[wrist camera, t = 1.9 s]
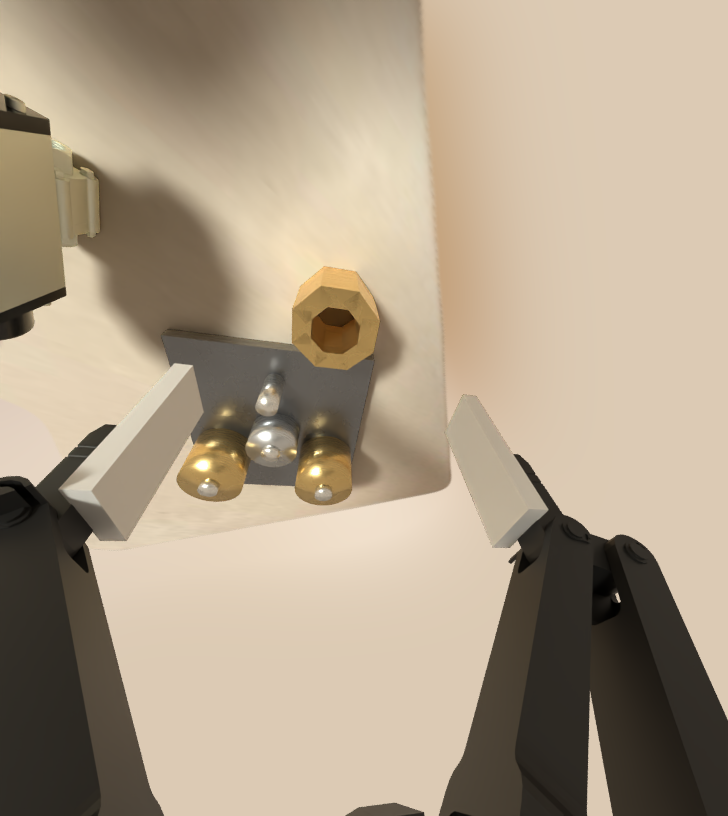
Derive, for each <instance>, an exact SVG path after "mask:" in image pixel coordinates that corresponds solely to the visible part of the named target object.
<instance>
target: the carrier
mask: <svg viewBox="0 0 728 816" xmlns="http://www.w3.org/2000/svg"><path fill="white" fill-rule="evenodd" d="M161 337H162V340H163V344H164V347H165V350H166V354H167V357H168V360H169V364H170V367H171V366H172V365H173V364H174V363H176V364H186V365H193V368H194V372H195V377H196V381H197V385H198V390H199V394H200V398H201V403H202V407H203V411H204V412H203V414H202V416H201V417H200V419H199V421H198V422H197V424H196V426H195V427H194V429H193V431H192V432H191V438H192V441H193V444H194V446H193V448H192V450H191V451H190V453H189V455H188V457H187V459H186V461H185V462H184V464H183V466H182V468H181V470H180V472H179V473H178V475H177V483H178V485H179V487H180V488H181V489H182V490H183V491H184V492H186V493H187V494H189V495H191V496H193V497H195V498H198V499H201V500H206V501H214V502H219V501H227V500H231V499H233V498H235V497H237V496H238V495H239V494H240V493H241V491H242V487H243V484H261V485H283V486H295V492H296V494H297V496H298V497H299V498H300V499H302V500H303V501H305V502H307V503H310V504H315V505H332V504H336V503H339V502H341V501H343V500H345V499H346V498H347V497H348V496H349V495H350V494H351V491H352V477H351V464H352V459H353V455H354V450H355V446H356V441H357V437H358V432H359V428H360V423H361V419H362V414H363V410H364V405H365V401H366V396H367V392H368V387H369V383H370V378H371V374H372V369H373V365H374V356H373V354H371V355H369V356H368V357H366V358H365V359H363V360H362V361H360V362H359V363H357V364H356V365H354V366H352V367H351V368H349V369H348V370H342V369H334V368H325V367H316V366H314V365H313V364H312V363H311V362H310V361H309V360H308V359H307V358H306V357H305V356H304V355H303V354H302V353H301V351H300V350H299V349H298V348H297V347H296V346H295V345H292V344H284V343H276V342H268V341H260V340H252V339H244V338H236V337H228V336H219V335H211V334H203V333H195V332H187V331H179V330H171V329H167V330H166V331H165V332H164V333H163V334H162V335H161Z"/></svg>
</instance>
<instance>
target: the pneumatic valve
mask: <svg viewBox="0 0 728 816" xmlns="http://www.w3.org/2000/svg"><path fill="white" fill-rule="evenodd" d="M99 232H100V216H99V180H98V179H97V178H96V177H95V176H94V172H93V171H92V170H90V169H88V168H85V167H81V170H78V169H76V168H75V167H73V162H72V151H71V149H70V148H68V147H67V146H65V145H64V144H62V143H60V142H58V141H57V140H55V139H52V138H51V132H50V122H49V119H48V118H46V117H44V116H42V115H41V114H39V113H37V112H35V111H33V110H31V109H30V108H28V107H26V106H25V103H24V102H23V101H21V100H20V99H18V98H16V97H13V96H11V95H8V94H2V93H0V340H6V339H11V338H15V337H18V336H21V335H23V334H25V333H27V332H29V331H30V330H31V329H32V328H33V326H34V316H33V310H34V309H37V308H39V307H41V306H50V305H51V302H53V301H55V300H57V299H60V298H62V297H64V296H66V286H65V276H64V265H63V255H62V247H75V246H77V245H78V237H77V235H81V234H86V235H87V236H88V237H91V238H93V237H96V233H99Z"/></svg>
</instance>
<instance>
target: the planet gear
mask: <svg viewBox="0 0 728 816" xmlns="http://www.w3.org/2000/svg"><path fill="white" fill-rule="evenodd" d="M327 307H330V308H337V309H344V310H349V312H350V313H351V314H352V315H353V317H354V319H352V320H351V321H350V322H348V323H347V324H346V325H344V326H343V327H338V326H330V325H326V324H325V323H324V322H323V321H322V320H321V318H320V317H319V316H318V314H319V313H321V312H322V311H323V310H324V309H326V308H327ZM379 324H380V319H379V316H378V312H377V308H376V305H375V301H374V298H373V296H372V295H371V293H370V292H369V290H368V289H367V287H366V286H365V284H364V283H363V281H362V280H361V278H360V277H359V275H358V274H357V273H356V272H355V271H349V270H343V269H337V268H331V267H325V266H324V267H323V268H322V269H321V270H319V271H318V272H317V273H316V274H315V275H313V276H312V277H311V278H310V279H309V280H307V281H306V282H305V283H304V284H303V285H301V286H300V289H299V292H298V294H297V297H296V300H295V303H294V306H293V308H292V343H293V344H294V345H295V346H296V347H297V348H298V349H299V350H300V351H301V353H302V354H303V355H304V356H305V357H306V358H307V359H308V360H309V361H310V362H311V363H312V364H313V365H314V366H316V367H325V368H334V369H342V370H348V369H349V368H351V367H352V366H354V365H356V364H357V363H359V362H360V361H362V360H363V359H365V358H366V357H368V356H369V355H371V354H372V353H373V352H374V347H375V342H376V338H377V333H378V328H379Z"/></svg>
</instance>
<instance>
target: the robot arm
mask: <svg viewBox="0 0 728 816" xmlns="http://www.w3.org/2000/svg"><path fill="white" fill-rule="evenodd" d="M203 412H204V411H203V407H202V403H201V398H200V394H199V390H198V385H197V381H196V377H195V372H194V368H193V365H186V364H176V363H174V364H173V365H172V366H171V368H170V369H169V370H168V371H167V372H166V373H165V374H164V375H163V376H162V377H161V378H160V379H159V381H158V382H157V383H156V384H155V385H154V386H153V387H152V388H151V389H150V390H149V391H148V392H147V394H146V395H145V396H144V397H143V398H142V399H141V400H140V401H139V402H138V403H137V404H136V405H135V407H134V408H133V409H132V410H131V411H130V412H129V413H128V414H127V415H126V416H125V417H124V418H123V420H122V421H121V422H120V423H119V424H118V425H107V424H105V425H103V426H102V427H100V428H98V429H97V430H95V431H93V432H91V433H90V434H88V435H87V436H86V437H85V438H84V439H83V440H82V441H81V442H80V443H79V444H78V447H75V448H74V449H73V450H72V451H71V452H70V453H69V454H68V457H65V458H64V459H63V460H62V461H61V462H60V464H58V465H57V466H56V467H55V468H54V469H53V470H52V472H50V473H49V474H48V475H47V476H46V477H45V478H44V480H42V481H41V482H40V483H39V484H38V485H37V486H36V487H34V486H33V484H32V483H31V482H30V481H29V480H28V479H26V478H23V477H20V476H11V477H3V478H0V816H164V814H163V812H162V810H161V807H160V805H159V804H158V802H157V800H156V799H155V797H154V796H153V794H152V792H151V789H150V786H149V783H148V779H147V775H146V771H145V768H144V764H143V760H142V756H141V752H140V748H139V744H138V740H137V736H136V732H135V728H134V725H133V721H132V717H131V713H130V709H129V705H128V701H127V697H126V694H125V689H124V685H123V682H122V678H121V674H120V670H119V666H118V662H117V658H116V654H115V650H114V646H113V642H112V638H111V635H110V631H109V627H108V623H107V619H106V615H105V611H104V607H103V604H102V599H101V596H100V592H99V588H98V584H97V580H96V576H95V572H94V568H93V565H92V560H91V556H90V552H89V549H88V546H87V545H86V544H85V541H86V540H87V539H88V537H89V536H90V534H91V533H92V532H93V533H94V534H95V535H96V536H97V537H98V539H99V540H100V541H127V539H128V538H129V536H130V534H131V533H132V531H133V529H134V528H135V526H136V524H137V523H138V521H139V519H140V518H141V516H142V514H143V513H144V511H145V509H146V508H147V506H148V504H149V503H150V501H151V499H152V498H153V496H154V494H155V493H156V491H157V489H158V488H159V486H160V484H161V483H162V481H163V479H164V478H165V476H166V474H167V473H168V471H169V469H170V468H171V466H172V464H173V463H174V461H175V459H176V458H177V456H178V454H179V453H180V451H181V449H182V447H183V446H184V444H185V442H186V441H187V439H188V437H189V436H190V434H191V432H192V431H193V429H194V427H195V426H196V424H197V422H198V421H199V419H200V417H201V416H202V414H203ZM445 434H446V437H447V439H448V442H449V444H450V446H451V449H452V451H453V453H454V456H455V458H456V461H457V463H458V466H459V468H460V470H461V473H462V475H463V477H464V480H465V483H466V485H467V487H468V490H469V492H470V495H471V497H472V499H473V502H474V504H475V506H476V509H477V511H478V514H479V516H480V519H481V521H482V523H483V526H484V528H485V530H486V533H487V535H488V538H489V540H490V543H491V545H492V547H495V548H510V547H511V546H512V545H513V544H514V543H515V542H516V541H517V540H518V542H519V544H520V546H521V549H520V550H519V551H518V552H517V553H516V554H515V555H514V556H513V557H512V558H510V560H509V563H512V562H513V561H515V560H516V561H515V565H514V569H513V572H512V576H511V580H510V584H509V588H508V591H507V595H506V599H505V602H504V606H503V610H502V614H501V617H500V621H499V625H498V628H497V632H496V636H495V640H494V643H493V648H492V651H491V655H490V658H489V662H488V666H487V670H486V673H485V677H484V681H483V685H482V688H481V692H480V696H479V700H478V703H477V707H476V711H475V715H474V718H473V722H472V726H471V730H470V733H469V737H468V741H467V744H466V748H465V751H464V755H463V757H462V759H461V761H460V763H459V764H458V766H457V767H456V768H455V770H454V772H453V774H452V776H451V778H450V780H449V783H448V786H447V789H446V792H445V796H444V799H443V803H442V806H441V810H440V814H439V816H587V780H588V779H587V778H588V776H587V775H588V739H589V702H590V692H591V698H592V703H593V708H594V714H595V720H596V725H597V731H598V736H599V741H600V747H601V752H602V758H603V763H604V769H605V774H606V779H607V785H608V791H609V796H610V802H611V807H612V813H613V816H728V720H727V717H726V715H725V713H724V711H723V709H722V706H721V704H720V702H719V700H718V697H717V695H716V693H715V691H714V688H713V686H712V684H711V682H710V680H709V677H708V675H707V673H706V670H705V668H704V666H703V664H702V662H701V659H700V657H699V655H698V652H697V650H696V648H695V646H694V644H693V641H692V639H691V637H690V635H689V632H688V630H687V628H686V626H685V623H684V621H683V619H682V617H681V615H680V612H679V610H678V608H677V606H676V603H675V601H674V599H673V596H672V594H671V592H670V590H669V587H668V585H667V583H666V581H665V578H664V576H663V574H662V572H661V569H660V567H659V565H658V563H657V561H656V559H655V558H654V556H653V555H652V553H651V552H650V551H649V550H648V549H647V548H646V547H645V546H644V545H642V544H641V543H640V542H638V541H637V540H635V539H633V538H631V537H629V536H626V535H616V536H615V537H614V538H612V539H611V540H607V539H604V538H601V537H598V536H595V535H592V534H590V533H589V532H588V530H587V529H586V528H585V527H584V526H583V525H582V524H581V523H579V522H578V521H576V520H575V519H573V518H571V517H568V516H565V515H563V514H562V512H561V511H560V510H559V508H558V506H557V505H556V504H555V502H554V500H553V499H552V498H551V496H550V495H549V493H548V492H547V490H546V489H545V487H544V486H543V484H541V481H540V480H539V478H538V477H537V476H536V475H535V472H534V471H533V469H532V468H531V466H530V465H529V463H528V462H526V461H525V460H524V459H523V458H522V457H521V456H520V455H518V454H513V453H512V451H511V450H510V448H509V447H508V445H507V444H506V442H505V440H504V439H503V437H502V436H501V434H500V433H499V431H498V429H497V428H496V426H495V425H494V423H493V421H492V420H491V418H490V417H489V415H488V414H487V412H486V410H485V409H484V407H483V406H482V404H481V403H480V401H479V399H478V398H477V396H472V395H462V397H461V399H460V402H459V404H458V406H457V408H456V410H455V412H454V414H453V416H452V418H451V420H450V423H449V425H448V427H447V429H446V431H445ZM616 593H618V594H619V597H620V600H621V602H620V603H618V601H617V599H616V596H615V594H616ZM346 816H424V812H421V811H418V810H415V809H412V808H409V807H406V806H403V805H400V804H397V803H389V804H382V805H374V806H367V807H359V808H357V809H355V810H354V811H353V812H351V813H349V814H347V815H346Z"/></svg>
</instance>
